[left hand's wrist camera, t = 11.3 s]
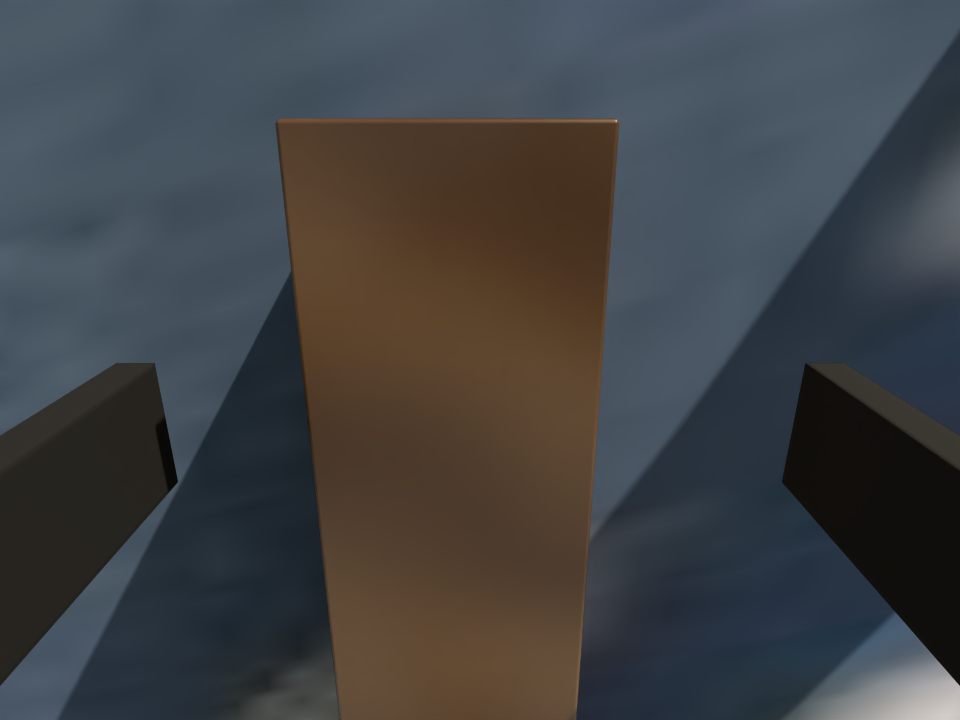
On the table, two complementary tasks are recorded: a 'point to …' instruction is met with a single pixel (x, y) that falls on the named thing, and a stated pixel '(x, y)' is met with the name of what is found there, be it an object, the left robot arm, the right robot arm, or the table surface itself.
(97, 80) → the table surface
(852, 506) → the left robot arm
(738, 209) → the table surface
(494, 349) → the post
